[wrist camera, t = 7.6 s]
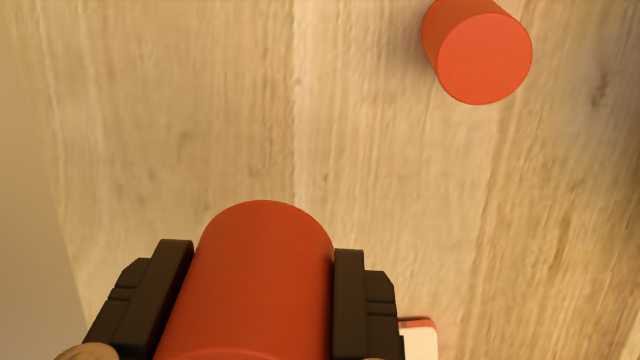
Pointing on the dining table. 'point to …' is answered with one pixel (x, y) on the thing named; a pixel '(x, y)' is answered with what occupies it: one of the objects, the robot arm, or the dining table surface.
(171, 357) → the red orange cylinder
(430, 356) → the cell phone
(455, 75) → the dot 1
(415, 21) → the dining table surface
